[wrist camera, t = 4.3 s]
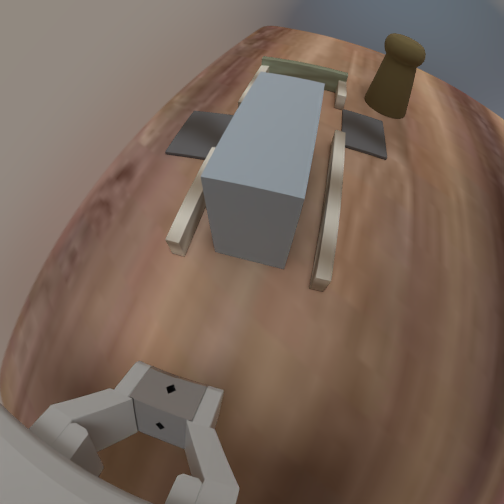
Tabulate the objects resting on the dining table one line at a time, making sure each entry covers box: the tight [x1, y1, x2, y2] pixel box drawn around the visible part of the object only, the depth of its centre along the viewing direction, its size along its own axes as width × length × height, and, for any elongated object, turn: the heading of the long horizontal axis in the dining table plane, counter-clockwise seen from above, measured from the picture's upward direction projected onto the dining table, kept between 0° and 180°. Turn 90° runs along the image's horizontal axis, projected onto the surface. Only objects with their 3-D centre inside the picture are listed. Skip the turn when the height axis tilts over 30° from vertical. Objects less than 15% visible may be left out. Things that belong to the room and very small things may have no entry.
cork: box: [365, 33, 426, 119], centre depth 26 cm, size 6×6×11 cm
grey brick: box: [201, 72, 325, 269], centre depth 19 cm, size 12×5×8 cm, turn 165°
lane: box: [165, 56, 387, 292], centre depth 24 cm, size 28×21×3 cm
